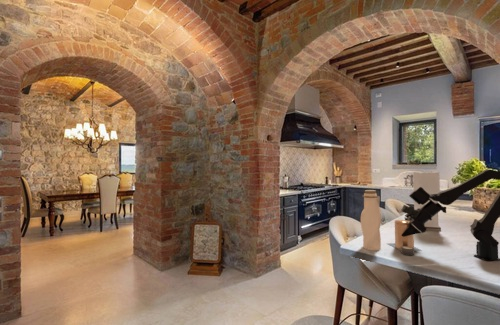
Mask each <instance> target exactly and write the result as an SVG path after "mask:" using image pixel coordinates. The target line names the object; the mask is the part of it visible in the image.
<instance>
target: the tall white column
mask: <svg viewBox="0 0 500 325" xmlns="http://www.w3.org/2000/svg"><path fill="white" fill-rule="evenodd" d="M412 173H413V174H412V175H413V176H412V177H413V178H412V180H413V191H415V190H417V189H418V188H419V187H422V188H423V189H424V190H425V191H426V192H427V193H428V194H438V193H439V192H441V189H440V188H441V185H440V183H441V182H440V172H439V171H430V172H429V171H428V172H426V171H425V172H419V171H413V172H412ZM429 199H431V198H429ZM431 200H432V199H431ZM432 201H433V202H434V203H436V202H438V201H434V200H432ZM428 202H429V200H428V201H427V202H426V203H425V204H423V205H422V204H418V203H416V202H415V201H414V200H413V207H414V209H415V210H417V209H418V208H420V209H421V208H422V207H423V206H424V205H426V204H427V203H428ZM438 203H439V202H438ZM431 219H432V220H431V221H430V220H428V221H427V222H426V223H425V224H424V226H425V227H426V231H432V232H433V231H435V232H437V231H438V232H442V227H441V226H439V212H438V213H437V214H436V215H435V216H433V217H432V218H431Z"/></svg>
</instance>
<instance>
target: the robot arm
mask: <svg viewBox="0 0 500 325" xmlns="http://www.w3.org/2000/svg"><path fill="white" fill-rule="evenodd" d="M489 180H497V181H500V170H493V169H489V168H487V169H484V170H482V172H479V173H478V174H476V175H474V176H473V177H471V178H469V179H466V180H465V181H463V182H462V183H460V184H458V185H456V186H453V187H450V188H447V189H444V190H442V191H441V190H440V192H439V193H438V194H428V193H427V192H426V191H425V190H424V189H423V188H422V187H419V188H418V189H417V190H415V191H414V190H413V191H412V192H411V193H410V194H409V195H408V197H409V198H410V199H412V200H413V202H414V201H415V202H416V203H418V204H422V205H423V204H425V203H426V202H427V201H428V200H429V202H428V203H427V204H426V205H424V206H423V207H422V208H421V209H420V208H418V209H417V210H415V209H414V206H412V205H407V204H403V206H402V208H401V212H402V213H405V215H404V220H407V221H410V222H411V223H412V224H411V223H410V222H409V226H408V228H407V229H406V230H405V231H404V232H403V233H402V236H403V237H405V236H409V235H413V234H414V235H416V234H417V235H418V234H424V233H425V232H426V231H427V230H426V227H425V226H424V224H425V223H426V222H427V221H428V220H430V221H431V220H432V219H431V218H432V217H433V216H435V215H436V214H437V213H438V214H439V213H440V212H442V213H444V214H446V213H447V206H449V205H452V204H453V203H454V202H456V201H457V200H458V199H460V197H461V196H462V195H464V194H465V193H468V192H470V191H471V190H473V189H475V188H477V187H479V186H480V185H482V184H484V183H487V182H488V181H489ZM429 198H431V199H432V200H434V201H438V202H436V203H434V202H433V201H432V200H431V199H429ZM442 205H443V206H442ZM499 218H500V191H498V193H497V195H496V196H495V198H494V200H493V201H492V202H491V204H490V205H489V207H488V208H487V210H486V212H485V213H484V215H483V216H482V218H480V219H479V220H478V219H477V218H474V220H473V222H472V224H471V225H469V227H470V234H472V236H473V237H474V238H475V239H476V240H477V241H476V246H475V247H476V253H475V254H473V257H476V258H478V259H481V260H484V261H487V262H498V261H500V257H499V244H500V243H499V241H498V240H497V239H496V238H495V237H494V236H493V232H494V228H495V226H496V222H497V221H498V219H499Z"/></svg>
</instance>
